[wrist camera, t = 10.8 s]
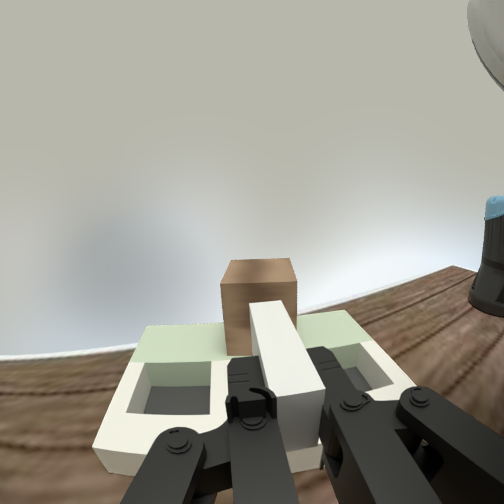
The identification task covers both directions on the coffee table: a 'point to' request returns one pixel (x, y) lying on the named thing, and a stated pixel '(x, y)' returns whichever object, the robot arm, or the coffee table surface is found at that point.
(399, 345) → the coffee table surface
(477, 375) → the coffee table surface
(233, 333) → the walnut block
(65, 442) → the coffee table surface
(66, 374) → the coffee table surface
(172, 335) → the box
